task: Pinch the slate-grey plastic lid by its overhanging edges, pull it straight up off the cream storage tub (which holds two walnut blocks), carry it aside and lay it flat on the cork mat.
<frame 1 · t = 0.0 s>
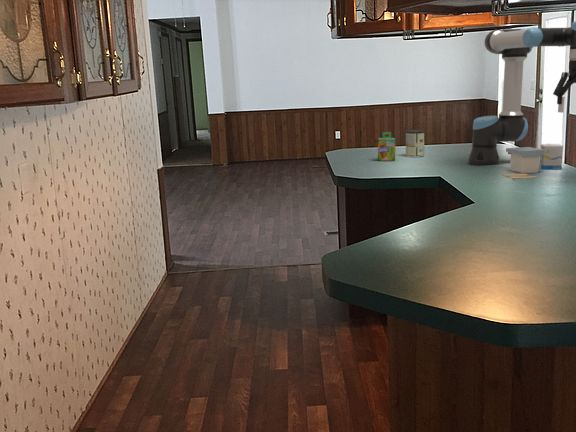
hand: (575, 111, 264), 28 cm above the table, fingers open, 13 cm apart
crate: (523, 172, 286), on the table
lid: (525, 152, 284), point 9 cm above the table, touching crate
block b: (525, 171, 284), point 1 cm above the table, touching crate
block a: (522, 170, 288), point 1 cm above the table, touching crate
ink box: (550, 170, 292), on the table
cream miniature cabinet: (414, 156, 347), on the table
chalk box: (386, 160, 335), on the table
mat: (518, 177, 273), on the table
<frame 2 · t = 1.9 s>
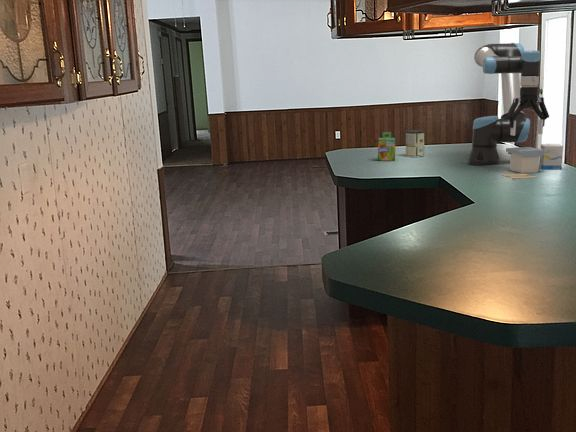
hand: (526, 134, 282), 17 cm above the table, fingers open, 13 cm apart
nothing on the table moved.
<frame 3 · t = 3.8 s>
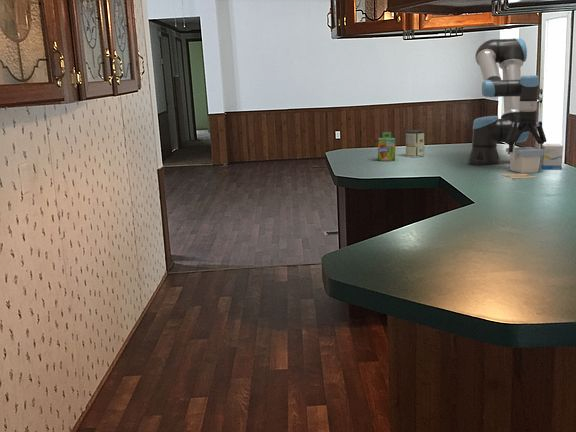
hand: (524, 158, 285), 6 cm above the table, fingers closed on lid, 12 cm apart
lid: (525, 152, 284), point 9 cm above the table, touching crate, gripper
everything else where it was.
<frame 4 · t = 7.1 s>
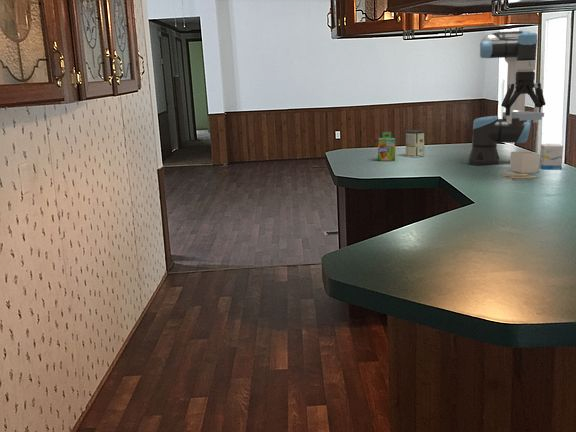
hand: (522, 123, 268), 24 cm above the table, fingers closed on lid, 12 cm apart
lid: (522, 116, 267), point 26 cm above the table, touching gripper
everything else where it was.
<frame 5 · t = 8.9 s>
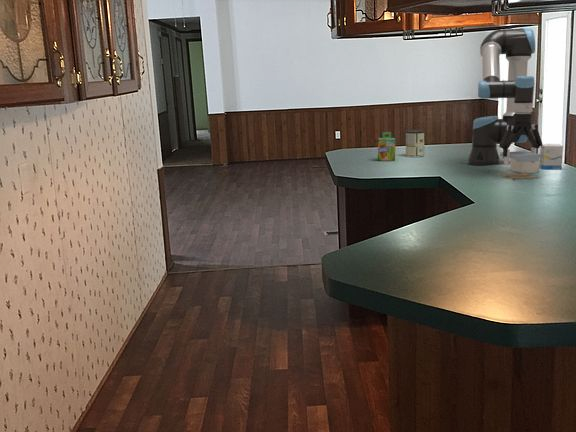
hand: (519, 163, 271), 6 cm above the table, fingers closed on lid, 12 cm apart
lid: (520, 156, 271), point 9 cm above the table, touching gripper
everything else where it was.
when the fingers open (2 cm above the table, at t = 10.4 s): lid drops 4 cm, point 1 cm above the table.
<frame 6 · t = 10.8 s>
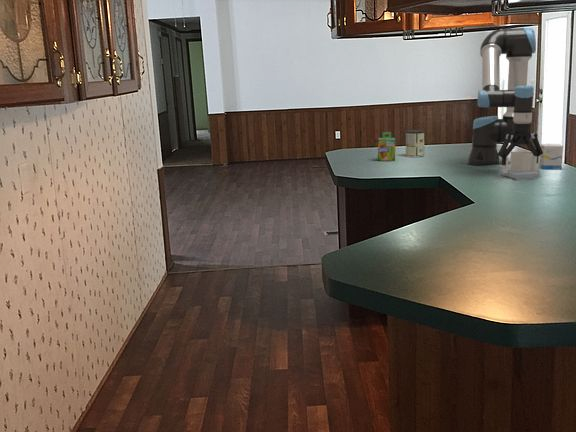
hand: (519, 171, 272), 3 cm above the table, fingers open, 13 cm apart
lid: (519, 175, 273), point 1 cm above the table
everything else where it was.
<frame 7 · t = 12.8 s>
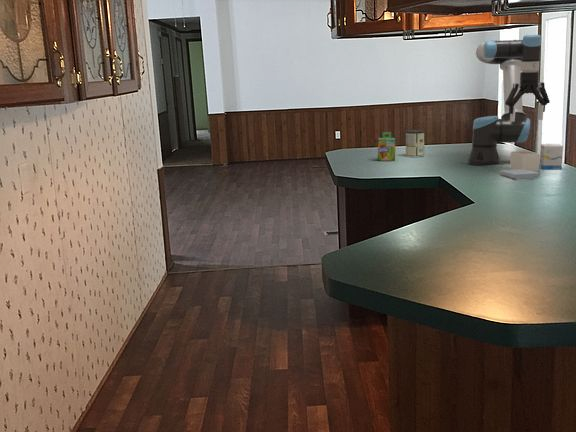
hand: (526, 120, 279), 24 cm above the table, fingers open, 13 cm apart
nothing on the table moved.
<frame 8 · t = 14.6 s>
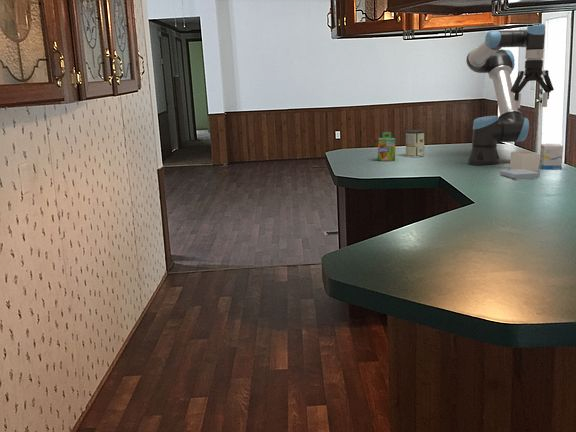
hand: (531, 107, 287), 29 cm above the table, fingers open, 13 cm apart
nothing on the table moved.
at the end: lid inside the target area on the mat (0.0 cm from its centre), point 1.0 cm above the mat's base; lid tilted 0°; lid touching table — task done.
